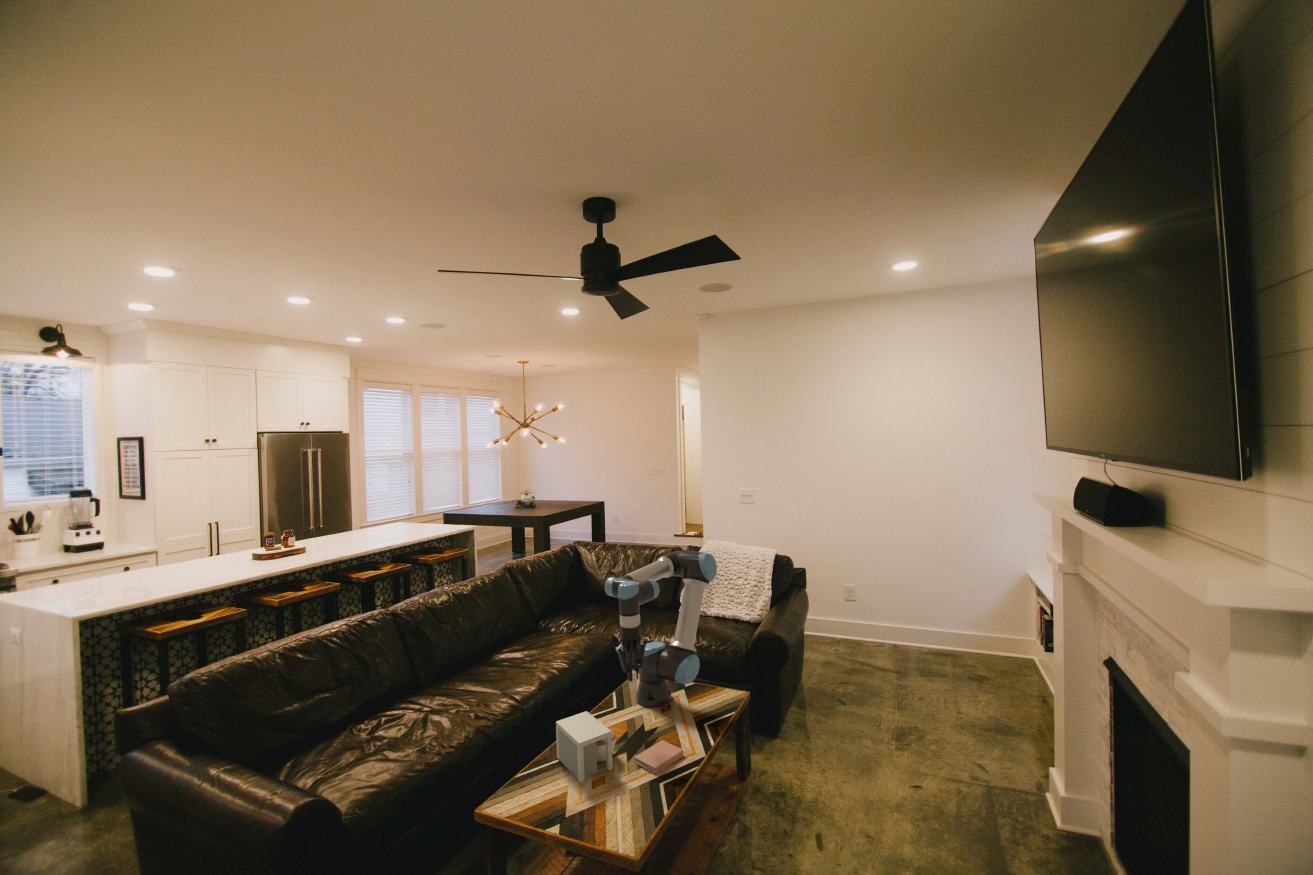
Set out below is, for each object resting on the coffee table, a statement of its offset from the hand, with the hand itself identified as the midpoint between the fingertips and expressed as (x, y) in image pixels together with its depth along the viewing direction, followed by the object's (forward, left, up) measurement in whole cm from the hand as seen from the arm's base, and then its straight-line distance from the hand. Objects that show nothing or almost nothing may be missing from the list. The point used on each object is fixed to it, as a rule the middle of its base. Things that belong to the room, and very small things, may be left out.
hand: (633, 688), depth 199 cm
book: (0, +16, -19) cm, 25 cm away
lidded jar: (+15, +2, -19) cm, 24 cm away
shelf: (+22, +2, -19) cm, 29 cm away
